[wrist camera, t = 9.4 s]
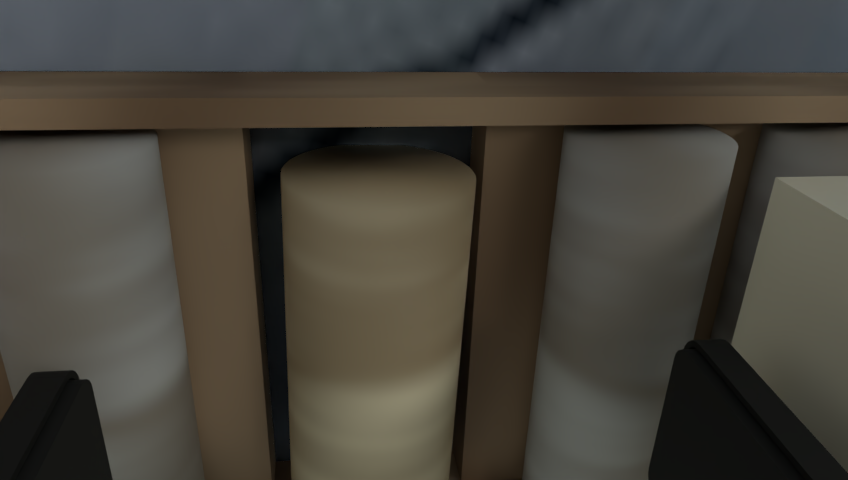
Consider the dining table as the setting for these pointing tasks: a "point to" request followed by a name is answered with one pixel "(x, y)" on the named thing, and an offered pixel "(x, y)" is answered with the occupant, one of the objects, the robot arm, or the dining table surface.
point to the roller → (374, 309)
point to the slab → (802, 305)
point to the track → (488, 262)
